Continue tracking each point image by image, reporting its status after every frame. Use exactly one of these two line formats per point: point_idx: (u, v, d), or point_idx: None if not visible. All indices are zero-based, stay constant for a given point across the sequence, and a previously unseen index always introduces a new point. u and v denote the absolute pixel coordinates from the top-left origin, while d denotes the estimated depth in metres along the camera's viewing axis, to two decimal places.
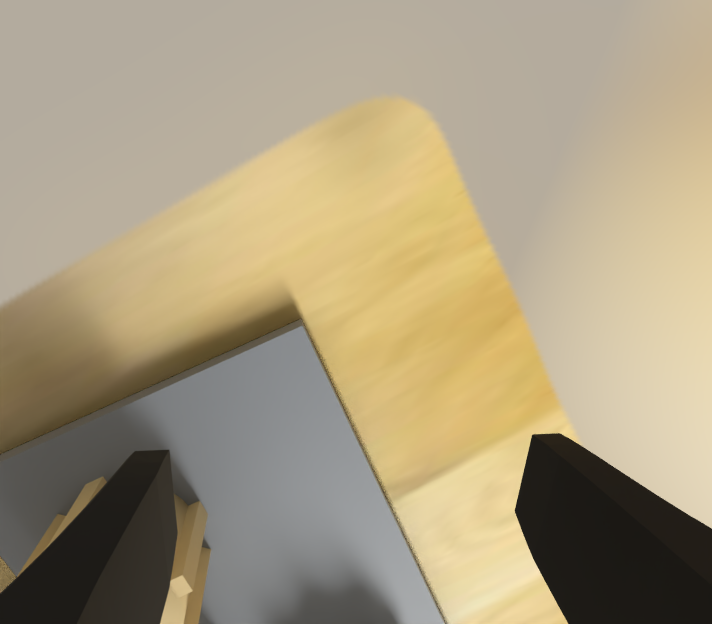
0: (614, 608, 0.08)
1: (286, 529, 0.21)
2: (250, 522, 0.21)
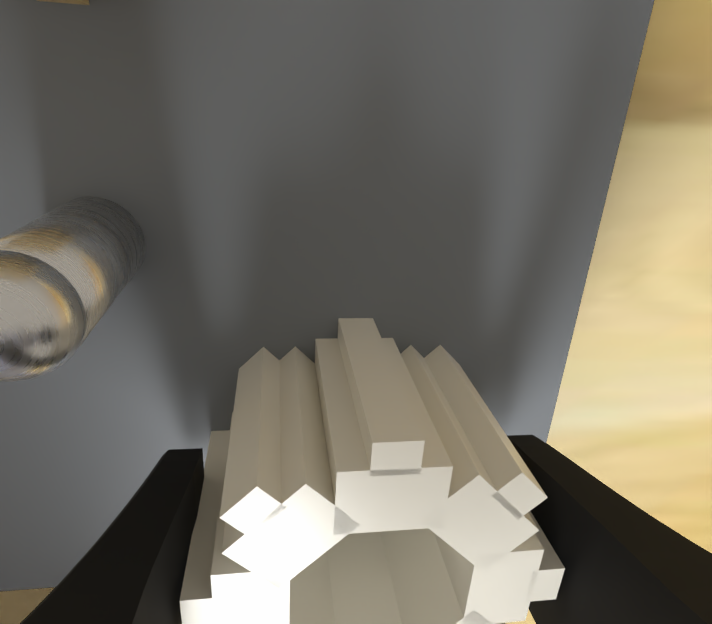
0: (580, 612, 0.08)
1: None
2: None
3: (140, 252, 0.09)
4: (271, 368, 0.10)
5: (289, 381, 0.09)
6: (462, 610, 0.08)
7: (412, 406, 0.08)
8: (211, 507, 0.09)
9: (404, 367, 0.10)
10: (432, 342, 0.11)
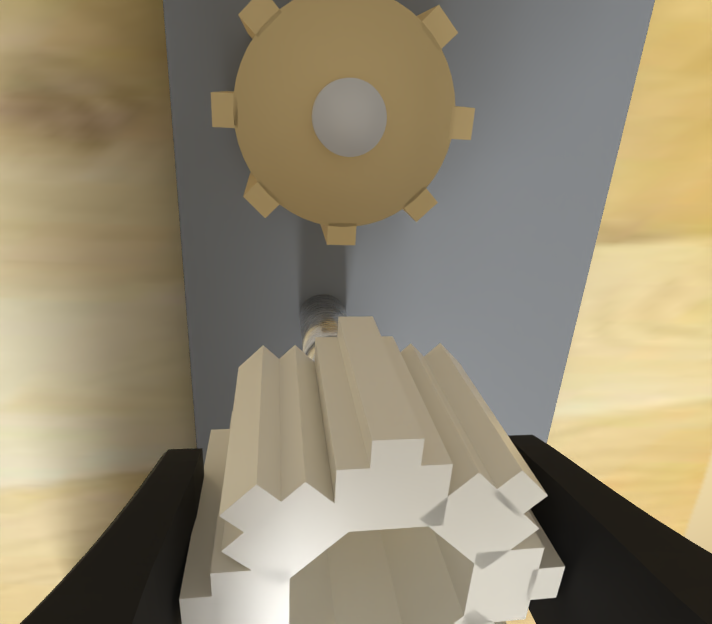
0: (580, 611, 0.08)
1: (489, 200, 0.17)
2: (460, 168, 0.16)
3: None
4: (271, 367, 0.10)
5: (289, 379, 0.09)
6: (462, 608, 0.08)
7: (412, 404, 0.08)
8: (212, 506, 0.09)
9: (404, 365, 0.10)
10: (488, 365, 0.20)
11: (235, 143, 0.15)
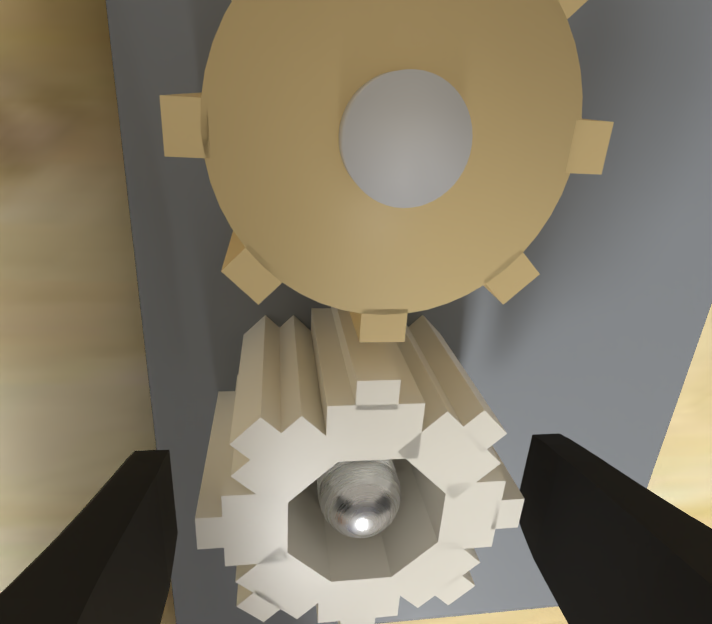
0: (614, 608, 0.08)
1: (575, 245, 0.12)
2: None
3: None
4: (272, 332, 0.11)
5: (288, 342, 0.11)
6: (436, 536, 0.10)
7: (394, 360, 0.10)
8: (220, 450, 0.10)
9: None
10: None
11: None
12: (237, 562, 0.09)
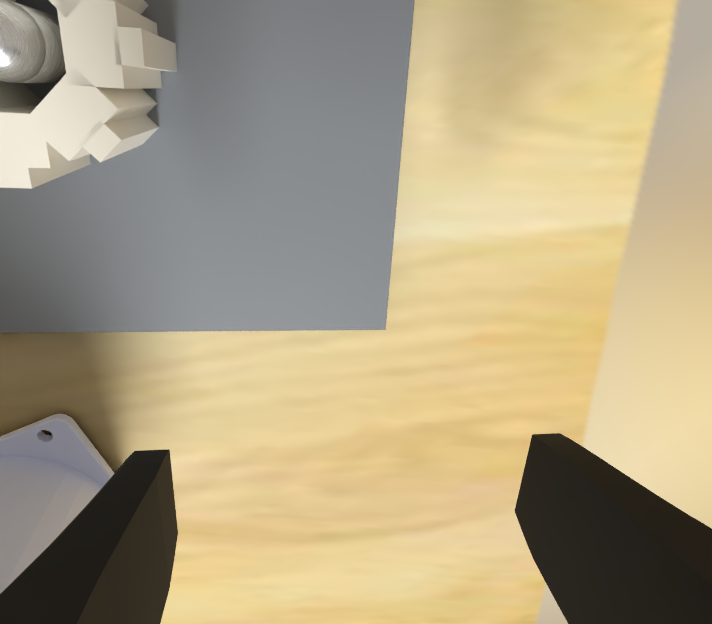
0: (614, 608, 0.08)
1: None
2: None
3: None
4: None
5: None
6: (67, 71, 0.11)
7: None
8: None
9: None
10: (299, 143, 0.16)
11: None
12: None
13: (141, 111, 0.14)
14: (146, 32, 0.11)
